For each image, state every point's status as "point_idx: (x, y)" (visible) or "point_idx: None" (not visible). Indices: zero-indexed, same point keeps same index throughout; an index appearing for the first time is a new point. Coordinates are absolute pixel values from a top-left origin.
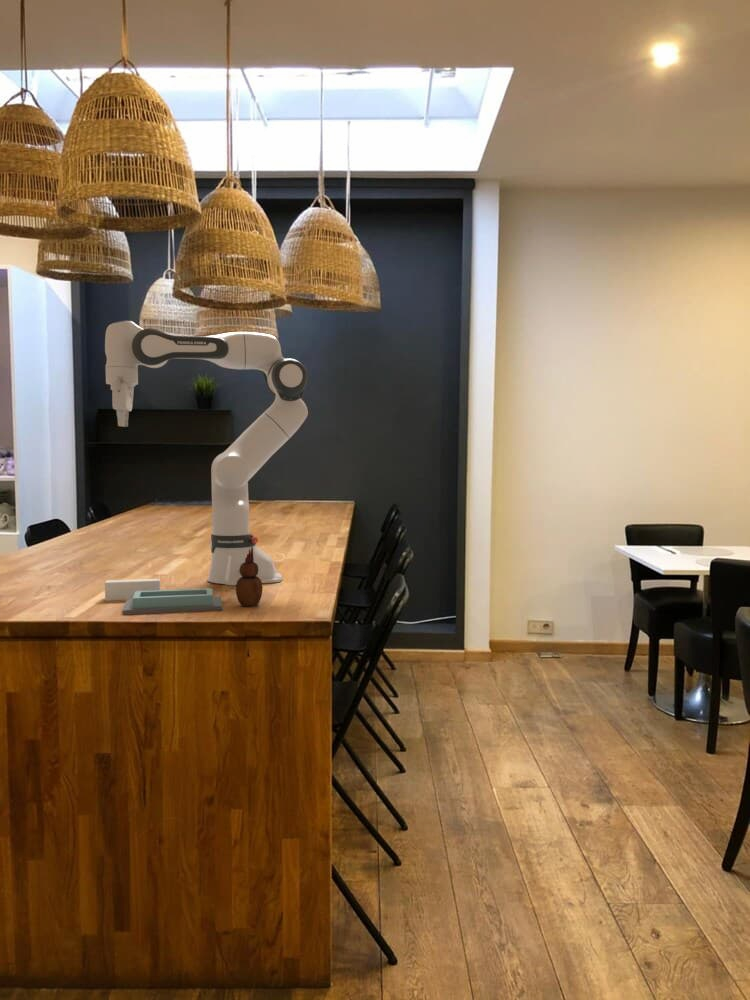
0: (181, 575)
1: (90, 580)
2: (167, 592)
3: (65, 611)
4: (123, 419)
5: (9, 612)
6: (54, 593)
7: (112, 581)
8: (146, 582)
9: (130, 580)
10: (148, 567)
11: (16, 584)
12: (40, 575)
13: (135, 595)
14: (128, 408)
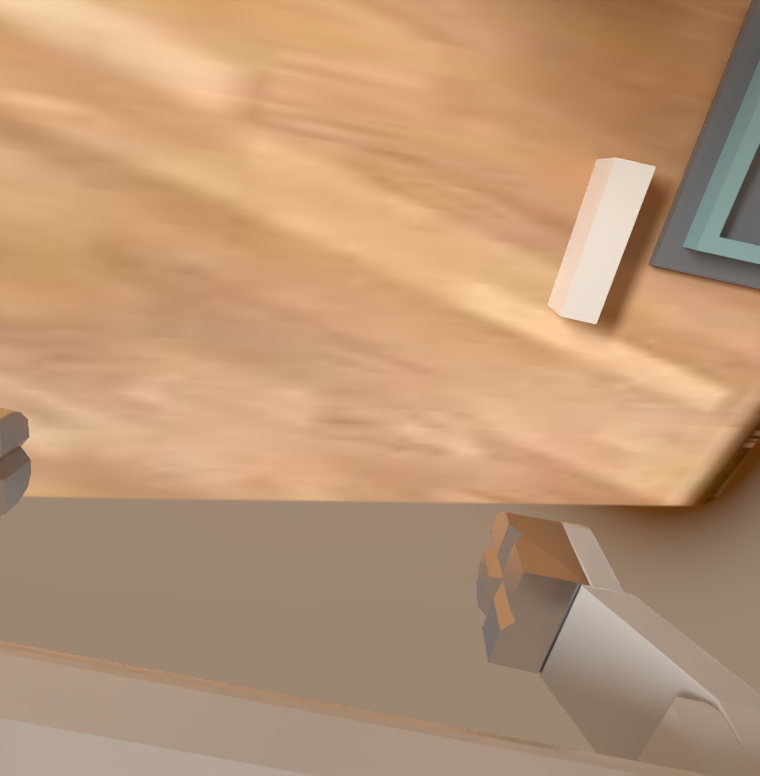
0: (280, 20)
1: (278, 320)
2: (750, 159)
3: (656, 405)
4: (635, 613)
5: (599, 503)
6: (430, 415)
7: (589, 302)
8: (638, 207)
9: (600, 252)
10: (83, 115)
11: (276, 485)
12: (161, 432)
13: (757, 258)
14: (374, 747)
